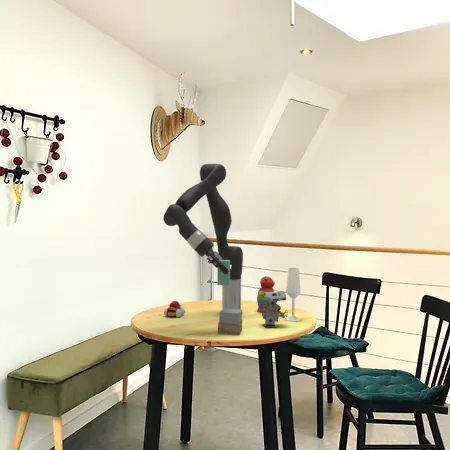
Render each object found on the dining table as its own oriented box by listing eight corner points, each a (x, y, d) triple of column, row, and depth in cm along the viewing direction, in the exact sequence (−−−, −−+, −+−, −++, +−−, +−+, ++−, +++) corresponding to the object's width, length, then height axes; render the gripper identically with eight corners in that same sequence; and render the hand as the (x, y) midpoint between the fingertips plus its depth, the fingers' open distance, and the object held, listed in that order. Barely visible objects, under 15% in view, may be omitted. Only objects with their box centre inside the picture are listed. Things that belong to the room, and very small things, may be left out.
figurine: (288, 328, 205) (289, 293, 204) (261, 327, 206) (262, 293, 205) (287, 323, 214) (287, 290, 214) (261, 323, 215) (262, 289, 214)
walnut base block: (221, 329, 203) (221, 318, 203) (242, 330, 202) (242, 319, 202) (217, 334, 194) (217, 323, 194) (239, 335, 193) (239, 324, 193)
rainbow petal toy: (162, 317, 225) (162, 302, 225) (170, 313, 234) (170, 298, 234) (178, 318, 223) (178, 303, 222) (186, 314, 232) (186, 299, 232)
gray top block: (223, 319, 203) (223, 308, 203) (241, 320, 201) (242, 309, 201) (219, 323, 195) (219, 312, 195) (238, 324, 193) (238, 313, 193)
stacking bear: (276, 314, 234) (276, 278, 234) (255, 313, 236) (256, 277, 235) (277, 309, 245) (277, 275, 244) (257, 309, 246) (258, 274, 246)
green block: (219, 283, 201) (219, 259, 201) (230, 283, 201) (230, 260, 200) (217, 285, 197) (217, 261, 196) (228, 285, 196) (228, 261, 196)
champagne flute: (283, 319, 222) (283, 268, 222) (290, 317, 227) (291, 267, 227) (295, 321, 218) (295, 269, 217) (303, 319, 223) (303, 268, 222)
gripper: (202, 237, 192) (232, 268, 191) (209, 235, 206) (237, 264, 205) (190, 250, 193) (219, 281, 192) (197, 247, 207) (224, 276, 206)
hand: (228, 272), depth 198 cm, fingers closed on green block, 4 cm apart
